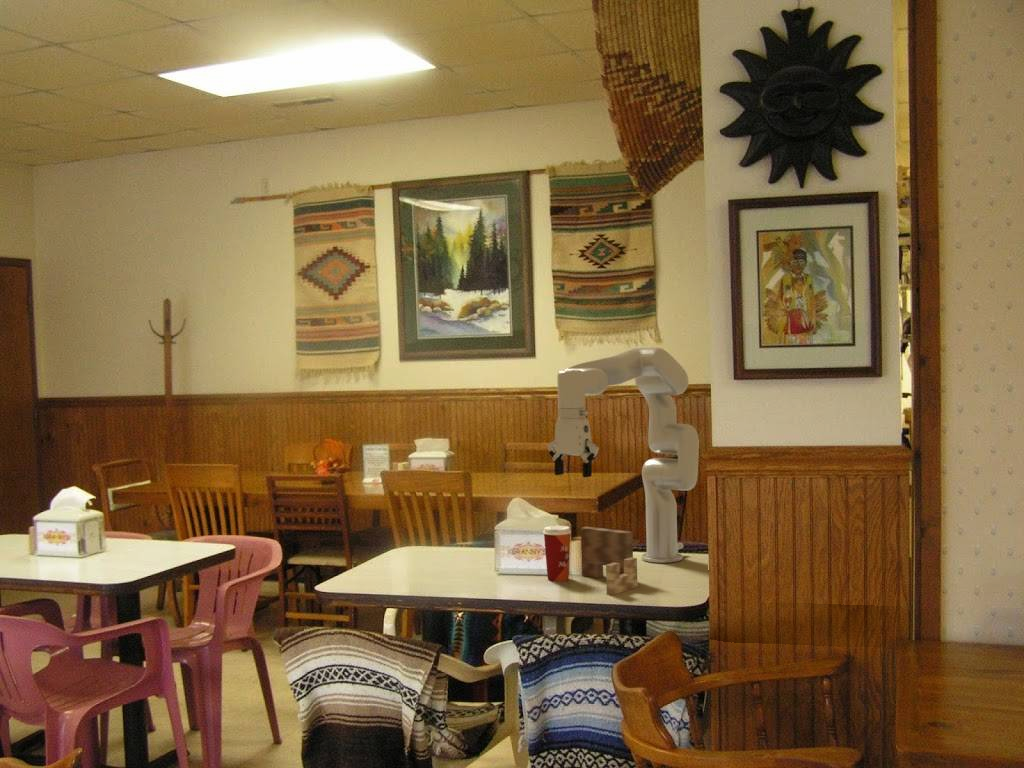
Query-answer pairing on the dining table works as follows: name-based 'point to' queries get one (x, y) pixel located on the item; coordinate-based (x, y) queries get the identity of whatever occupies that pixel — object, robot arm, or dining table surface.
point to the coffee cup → (557, 552)
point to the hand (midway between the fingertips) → (573, 475)
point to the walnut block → (604, 549)
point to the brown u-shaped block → (621, 576)
